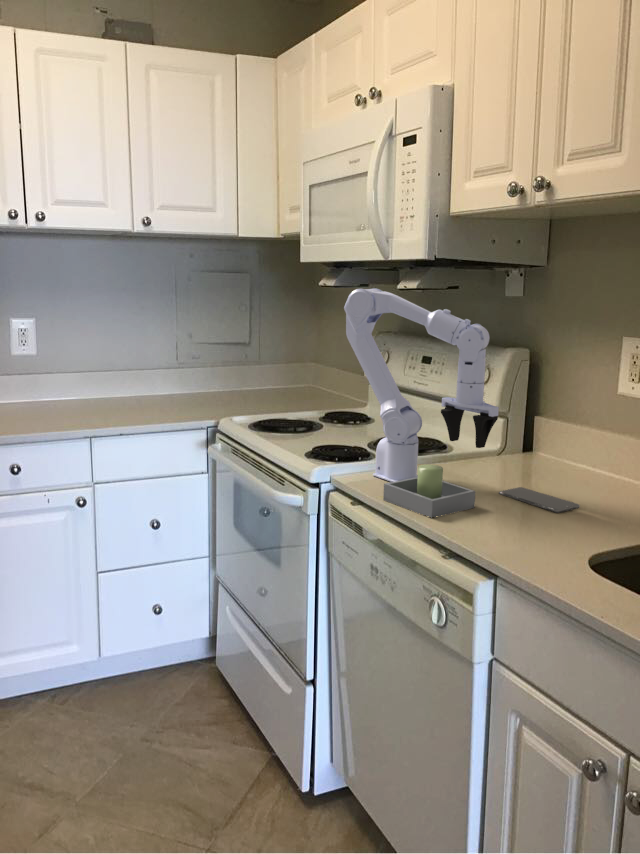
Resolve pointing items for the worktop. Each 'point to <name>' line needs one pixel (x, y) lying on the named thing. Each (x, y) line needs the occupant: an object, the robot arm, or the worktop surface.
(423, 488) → the green cylinder
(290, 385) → the worktop surface
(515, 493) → the smartphone
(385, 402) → the robot arm
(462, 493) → the grey bin
